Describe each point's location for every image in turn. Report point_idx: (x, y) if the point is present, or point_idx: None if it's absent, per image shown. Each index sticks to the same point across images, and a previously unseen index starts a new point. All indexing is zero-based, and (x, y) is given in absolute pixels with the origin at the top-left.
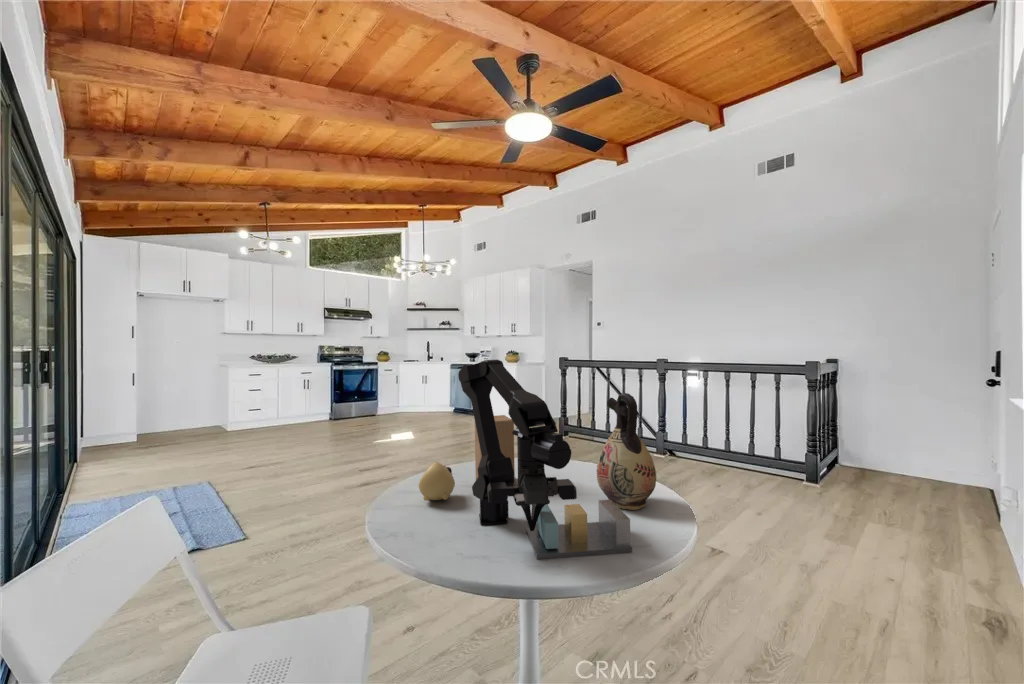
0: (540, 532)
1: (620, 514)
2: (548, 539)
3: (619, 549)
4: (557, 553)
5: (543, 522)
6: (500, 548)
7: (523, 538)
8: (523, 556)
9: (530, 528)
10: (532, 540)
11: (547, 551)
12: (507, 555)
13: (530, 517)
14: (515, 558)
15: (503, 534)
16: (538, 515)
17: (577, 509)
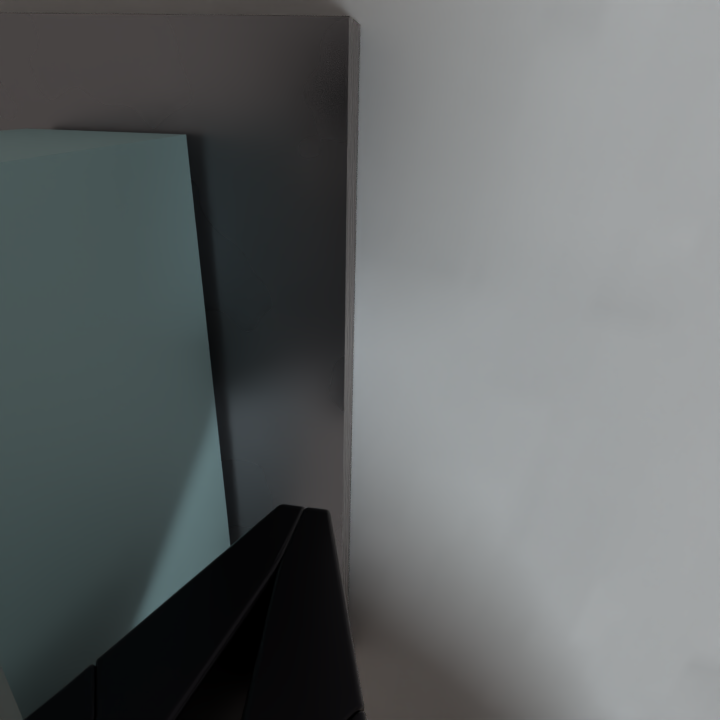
0: (212, 520)
1: None
2: (75, 145)
3: None
4: (54, 13)
5: (28, 488)
6: (713, 424)
7: (399, 552)
8: (509, 164)
9: (322, 531)
10: (330, 436)
11: (184, 97)
12: (705, 236)
13: (268, 691)
14: (633, 127)
15: (564, 660)
16: (68, 692)
17: None
